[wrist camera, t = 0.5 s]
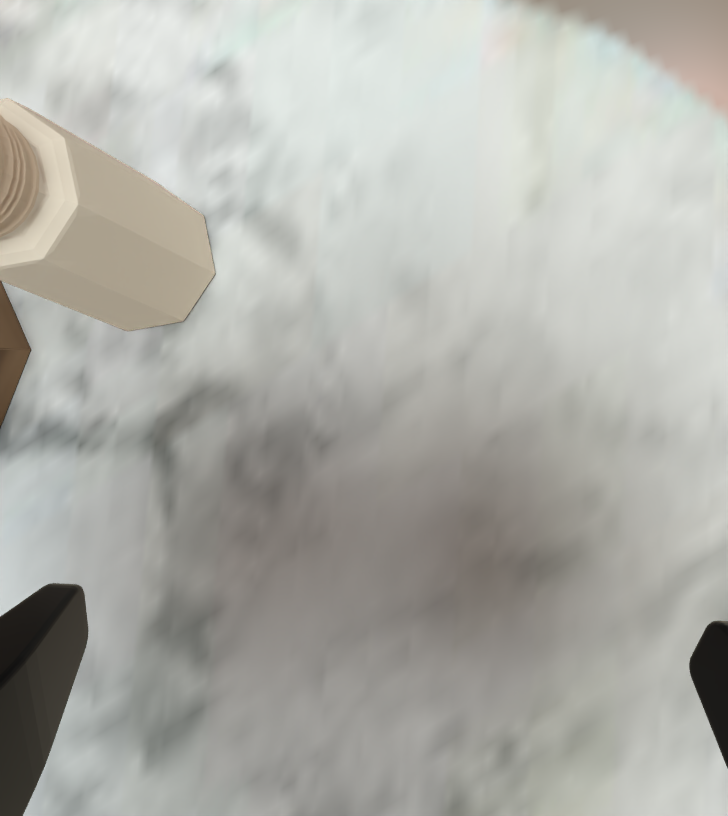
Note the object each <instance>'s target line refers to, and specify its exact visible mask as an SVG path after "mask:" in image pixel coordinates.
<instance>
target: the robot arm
mask: <svg viewBox="0 0 728 816" xmlns="http://www.w3.org/2000/svg"><path fill="white" fill-rule="evenodd" d="M87 639H88V622H87V613H86V604H85V595H84V591H83V589H82V587H81V586H79V585H76V584H59V583H52V584H48V585H46V586H44V587H42V588H41V589H39V590H38V591H37V592H35V593H34V594H32V595H31V596H29V597H28V598H26V599H25V600H24V601H22V602H21V603H19V604H18V605H16V606H15V607H14V608H12V609H11V610H9V611H8V612H6V613H5V614H4V615H2V616H1V617H0V816H23V814H24V812H25V809H26V807H27V805H28V803H29V801H30V799H31V796H32V794H33V792H34V790H35V788H36V785H37V783H38V781H39V778H40V776H41V774H42V771H43V769H44V767H45V764H46V761H47V759H48V756H49V753H50V750H51V748H52V745H53V742H54V739H55V736H56V733H57V730H58V727H59V724H60V721H61V718H62V715H63V713H64V710H65V707H66V704H67V701H68V698H69V695H70V692H71V689H72V686H73V683H74V680H75V677H76V675H77V672H78V669H79V666H80V663H81V660H82V657H83V654H84V651H85V648H86V644H87ZM689 667H690V674H691V677H692V680H693V683H694V685H695V688H696V690H697V693H698V695H699V698H700V700H701V703H702V705H703V708H704V710H705V713H706V715H707V718H708V720H709V723H710V725H711V728H712V730H713V733H714V735H715V738H716V740H717V743H718V745H719V748H720V750H721V753H722V756H723V758H724V761H725V763H726V766H727V768H728V621H713V622H711V623H710V624H709V625H708V626H707V627H706V629H705V631H704V633H703V635H702V637H701V638H700V640H699V642H698V644H697V646H696V648H695V650H694V652H693V654H692V656H691V658H690V663H689Z"/></svg>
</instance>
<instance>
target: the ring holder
mask: <svg viewBox="0 0 728 816" xmlns="http://www.w3.org/2000/svg"><path fill="white" fill-rule="evenodd" d="M30 351H31V349H30V347H29V345H28V342H27V340H26V338H25V335H24V333H23V331H22V329H21V326H20V324H19V322H18V319H17V317H16V315H15V313H14V310H13V308H12V306H11V303H10V301H9V299H8V297H7V294H6V292H5V290H4V288H3V285H2V283H1V281H0V427H1V425H2V422H3V419H4V417H5V414H6V412H7V409H8V407H9V404H10V402H11V399H12V396H13V394H14V391H15V389H16V386H17V384H18V381H19V379H20V376H21V374H22V371H23V368H24V366H25V363H26V361H27V358H28V356H29V353H30Z"/></svg>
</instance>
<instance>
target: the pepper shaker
mask: <svg viewBox="0 0 728 816" xmlns="http://www.w3.org/2000/svg"><path fill="white" fill-rule="evenodd" d="M214 275H215V270H214V265H213V260H212V254H211V249H210V244H209V239H208V234H207V229H206V224H205V219H204V216H203V215H202V214H201V213H199V212H198V211H196V210H195V209H194V208H192V207H191V206H189V205H188V204H186V203H185V202H184V201H182V200H181V199H179V198H178V197H176V196H175V195H174V194H172V193H171V192H169V191H168V190H167V189H165V188H164V187H162V186H161V185H159V184H158V183H157V182H155V181H153V180H152V179H150V178H148V177H147V176H145V175H143V174H141V173H140V172H138V171H136V170H135V169H133V168H131V167H129V166H128V165H126V164H124V163H122V162H121V161H119V160H117V159H116V158H114V157H112V156H110V155H109V154H107V153H105V152H103V151H102V150H100V149H98V148H97V147H95V146H93V145H91V144H90V143H88V142H86V141H84V140H83V139H81V138H79V137H78V136H76V135H74V134H72V133H71V132H69V131H67V130H65V129H64V128H62V127H60V126H59V125H57V124H55V123H53V122H52V121H50V120H48V119H46V118H45V117H43V116H41V115H40V114H38V113H36V112H34V111H33V110H31V109H29V108H27V107H25V106H23V105H21V104H19V103H17V102H15V101H13V100H10V99H8V98H6V99H0V280H1V281H3V282H6V283H8V284H11V285H13V286H15V287H18V288H20V289H23V290H25V291H28V292H30V293H33V294H35V295H38V296H40V297H43V298H45V299H48V300H50V301H53V302H55V303H58V304H60V305H63V306H65V307H68V308H70V309H73V310H75V311H78V312H80V313H83V314H85V315H88V316H90V317H93V318H95V319H98V320H100V321H103V322H105V323H108V324H110V325H113V326H115V327H118V328H120V329H123V330H125V331H132V330H137V329H143V328H149V327H154V326H160V325H165V324H171V323H176V322H182V321H184V320H185V318H186V317H187V315H188V314H189V312H190V311H191V309H192V308H193V306H194V305H195V303H196V302H197V300H198V299H199V297H200V296H201V294H202V293H203V291H204V290H205V288H206V287H207V285H208V284H209V282H210V281H211V279H212V278H213V276H214Z"/></svg>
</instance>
